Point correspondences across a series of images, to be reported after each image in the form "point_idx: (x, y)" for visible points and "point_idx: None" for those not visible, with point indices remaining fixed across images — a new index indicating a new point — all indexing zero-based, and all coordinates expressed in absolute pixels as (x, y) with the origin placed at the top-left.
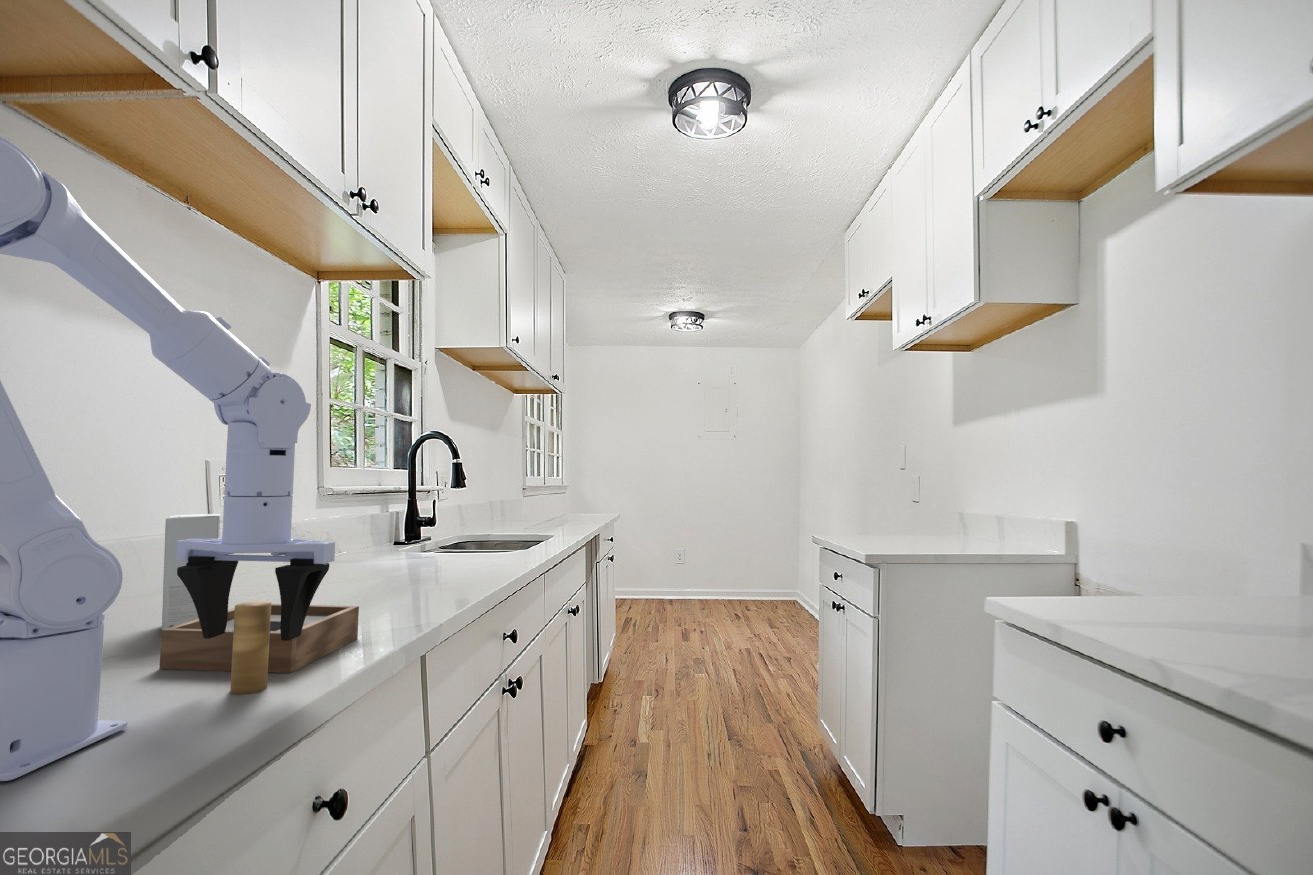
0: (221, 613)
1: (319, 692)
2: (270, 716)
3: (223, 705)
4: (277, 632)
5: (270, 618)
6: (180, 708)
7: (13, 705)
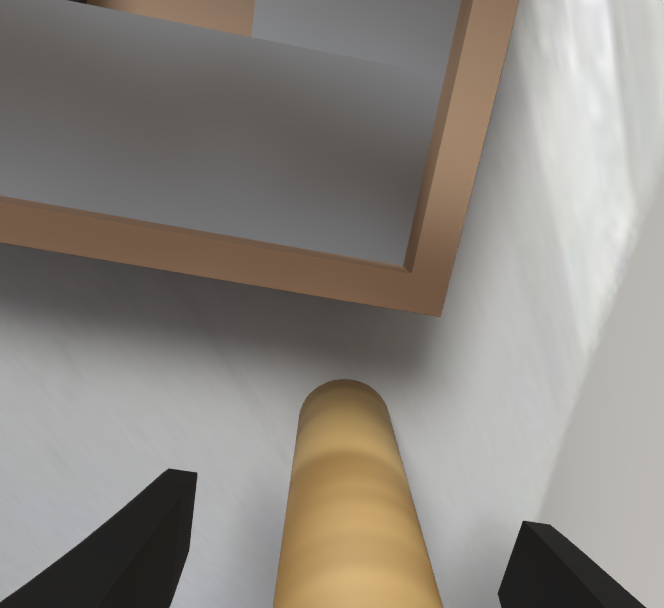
0: (151, 578)
1: (544, 458)
2: (476, 596)
3: None
4: (359, 286)
5: (438, 591)
6: (248, 541)
7: None
